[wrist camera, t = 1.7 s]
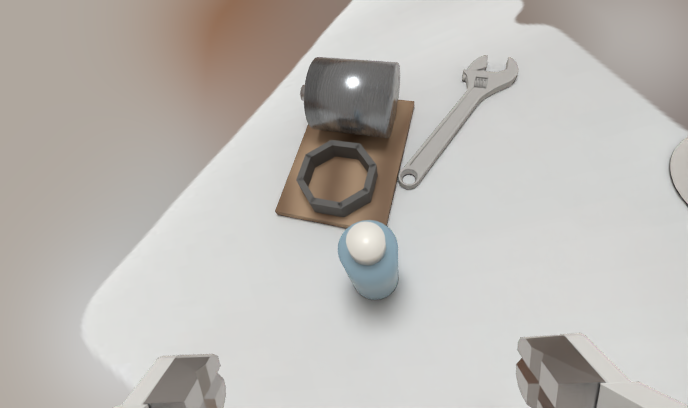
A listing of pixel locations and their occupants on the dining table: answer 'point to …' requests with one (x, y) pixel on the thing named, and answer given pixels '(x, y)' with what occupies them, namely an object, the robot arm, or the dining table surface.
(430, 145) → the adjustable wrench
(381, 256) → the blue plastic bottle
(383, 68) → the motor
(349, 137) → the base plate
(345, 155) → the collar
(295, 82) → the dining table surface
